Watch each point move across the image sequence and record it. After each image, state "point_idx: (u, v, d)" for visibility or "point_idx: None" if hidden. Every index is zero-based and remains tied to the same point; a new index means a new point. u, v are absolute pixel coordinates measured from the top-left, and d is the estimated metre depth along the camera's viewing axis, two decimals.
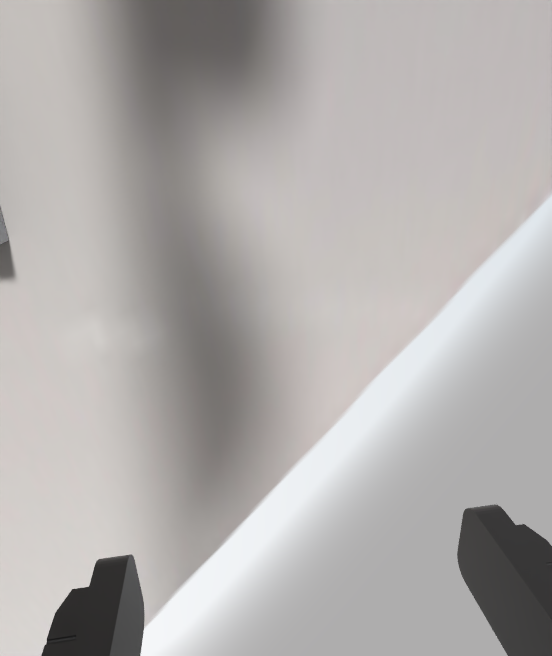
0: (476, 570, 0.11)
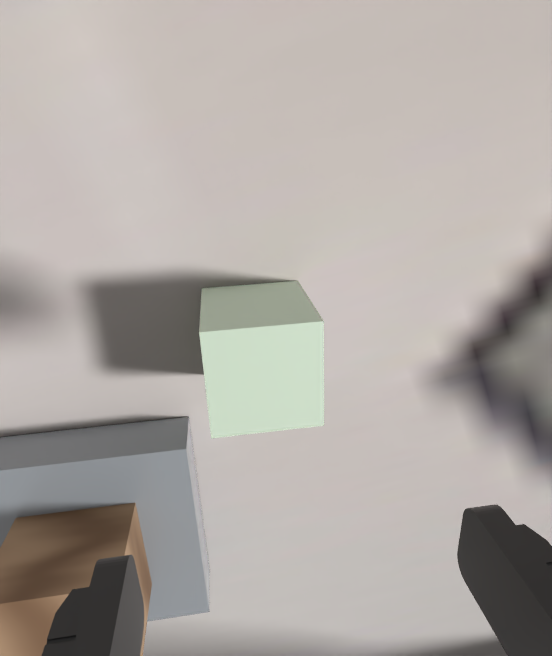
0: (476, 570, 0.11)
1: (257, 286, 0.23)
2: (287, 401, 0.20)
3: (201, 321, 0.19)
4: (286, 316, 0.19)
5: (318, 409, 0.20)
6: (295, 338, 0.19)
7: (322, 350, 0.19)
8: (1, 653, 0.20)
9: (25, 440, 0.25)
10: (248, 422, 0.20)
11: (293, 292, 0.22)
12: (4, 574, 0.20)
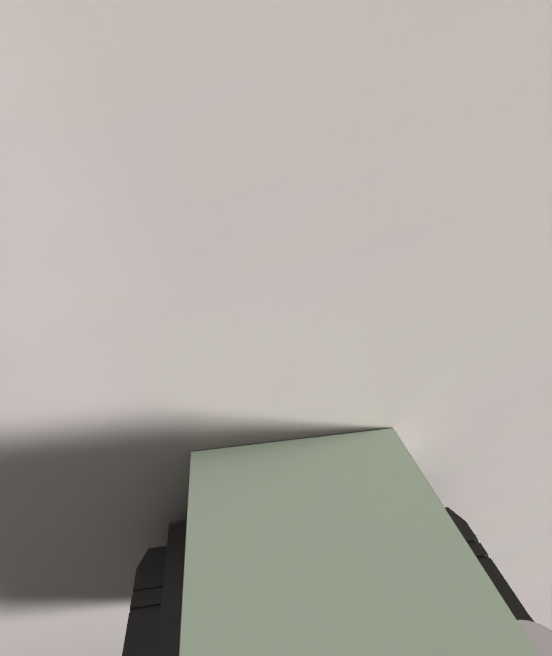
0: None
1: (312, 451, 0.11)
2: None
3: None
4: (430, 641, 0.07)
5: None
6: None
7: None
8: None
9: None
10: None
11: (402, 483, 0.10)
12: None
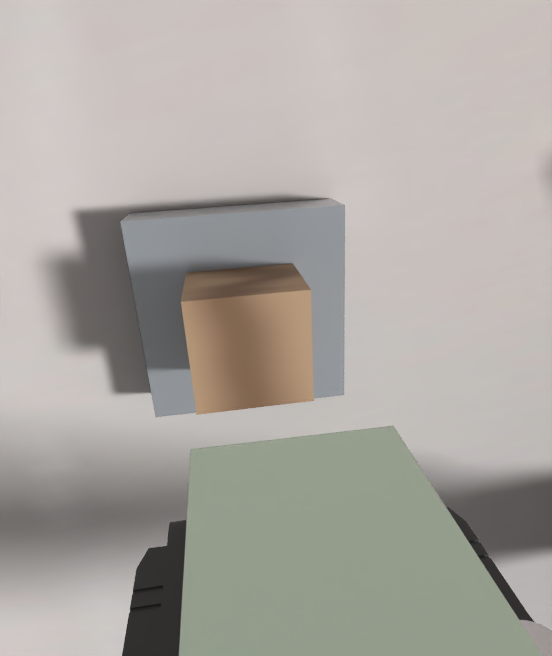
0: None
1: (312, 448, 0.11)
2: None
3: None
4: (431, 636, 0.07)
5: None
6: None
7: None
8: (200, 359, 0.22)
9: (186, 210, 0.26)
10: None
11: (403, 479, 0.10)
12: (199, 290, 0.22)
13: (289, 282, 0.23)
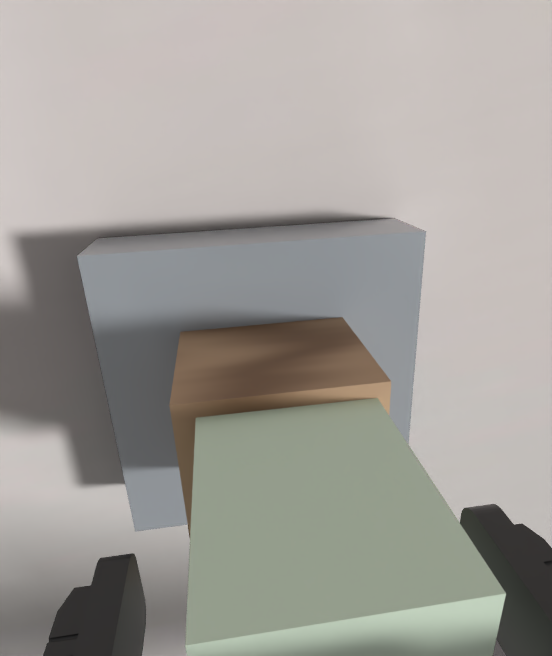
0: None
1: (304, 416, 0.12)
2: None
3: (192, 575, 0.08)
4: (399, 557, 0.08)
5: None
6: (430, 633, 0.07)
7: (491, 648, 0.08)
8: None
9: (182, 234, 0.18)
10: None
11: (383, 440, 0.11)
12: (202, 374, 0.13)
13: (348, 361, 0.14)
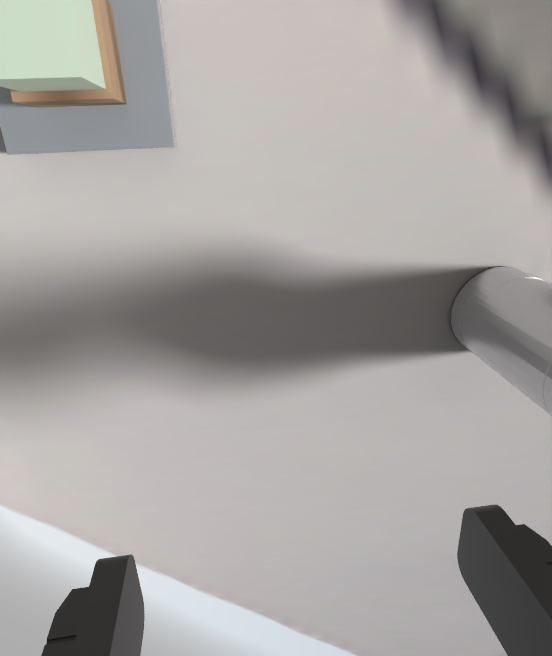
0: (476, 570, 0.11)
1: None
2: (41, 44, 0.22)
3: None
4: None
5: (72, 57, 0.23)
6: None
7: None
8: None
9: None
10: (7, 65, 0.22)
11: None
12: None
13: None
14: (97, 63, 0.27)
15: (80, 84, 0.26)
